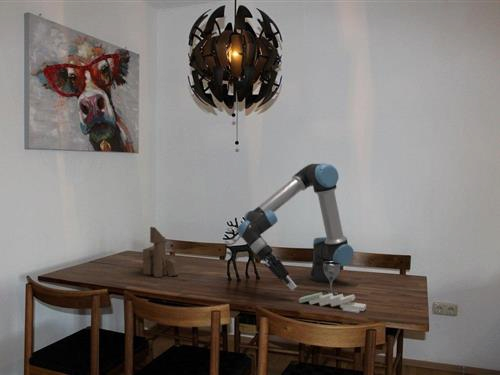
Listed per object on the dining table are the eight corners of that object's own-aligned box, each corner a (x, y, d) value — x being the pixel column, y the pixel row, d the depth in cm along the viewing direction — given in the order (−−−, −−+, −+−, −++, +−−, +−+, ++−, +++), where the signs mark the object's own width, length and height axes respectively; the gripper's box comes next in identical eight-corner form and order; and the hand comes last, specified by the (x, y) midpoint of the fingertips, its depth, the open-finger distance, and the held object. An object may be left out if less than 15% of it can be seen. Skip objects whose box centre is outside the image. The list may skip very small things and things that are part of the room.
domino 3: (318, 302, 203) (339, 296, 199) (322, 299, 208) (342, 293, 203) (320, 306, 203) (340, 300, 199) (323, 303, 207) (343, 297, 203)
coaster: (347, 305, 204) (347, 304, 204) (362, 307, 201) (362, 306, 201) (342, 310, 197) (342, 309, 197) (358, 312, 194) (358, 311, 194)
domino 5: (340, 304, 199) (363, 307, 195) (343, 301, 203) (366, 304, 199) (340, 307, 199) (363, 311, 195) (343, 304, 203) (366, 307, 199)
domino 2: (308, 301, 205) (329, 295, 201) (312, 298, 210) (332, 292, 206) (310, 304, 205) (330, 299, 201) (313, 301, 210) (333, 296, 205)
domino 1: (298, 299, 207) (318, 294, 203) (302, 297, 212) (321, 292, 208) (299, 303, 207) (319, 298, 203) (303, 300, 212) (322, 295, 207)
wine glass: (337, 291, 228) (337, 261, 227) (340, 295, 220) (341, 264, 219) (321, 291, 228) (321, 261, 227) (324, 295, 220) (325, 264, 219)
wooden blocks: (171, 280, 247) (171, 228, 246) (137, 277, 253) (138, 226, 251) (189, 270, 270) (189, 223, 269) (158, 268, 276) (158, 221, 275)
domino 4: (330, 303, 201) (351, 296, 197) (333, 300, 205) (353, 294, 201) (331, 306, 201) (352, 300, 196) (334, 303, 205) (355, 297, 201)
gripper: (262, 252, 224) (293, 290, 218) (250, 256, 212) (283, 296, 206) (272, 242, 222) (304, 280, 215) (261, 246, 210) (295, 286, 203)
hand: (294, 288), depth 211 cm, fingers closed
